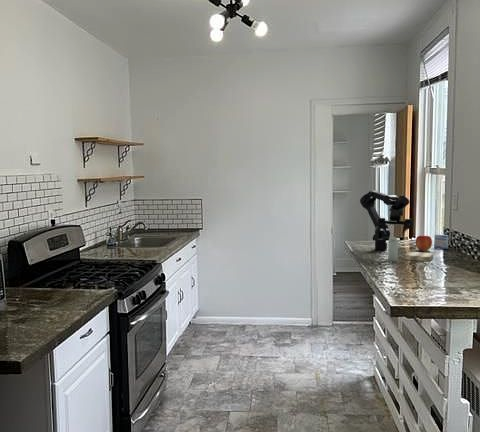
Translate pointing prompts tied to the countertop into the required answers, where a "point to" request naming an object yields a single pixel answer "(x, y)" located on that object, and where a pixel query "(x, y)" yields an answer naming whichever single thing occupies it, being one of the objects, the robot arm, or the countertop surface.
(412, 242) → the countertop surface
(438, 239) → the medicine box
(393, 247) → the sage bottle
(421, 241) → the apple
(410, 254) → the birch pad
